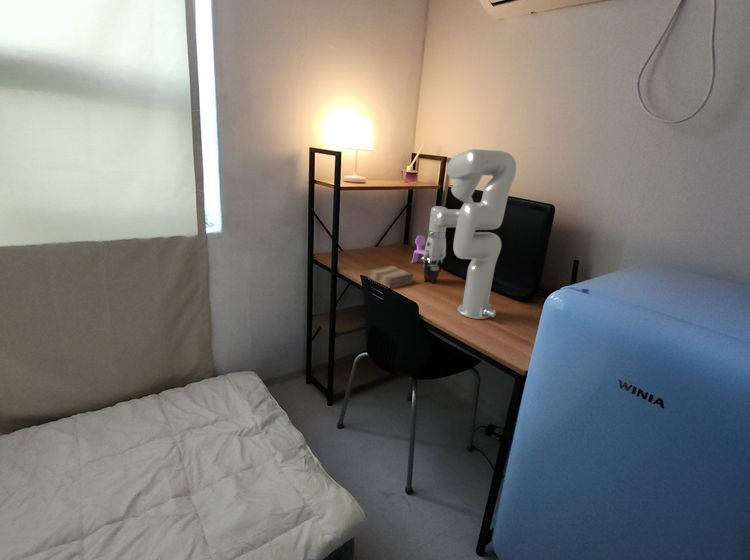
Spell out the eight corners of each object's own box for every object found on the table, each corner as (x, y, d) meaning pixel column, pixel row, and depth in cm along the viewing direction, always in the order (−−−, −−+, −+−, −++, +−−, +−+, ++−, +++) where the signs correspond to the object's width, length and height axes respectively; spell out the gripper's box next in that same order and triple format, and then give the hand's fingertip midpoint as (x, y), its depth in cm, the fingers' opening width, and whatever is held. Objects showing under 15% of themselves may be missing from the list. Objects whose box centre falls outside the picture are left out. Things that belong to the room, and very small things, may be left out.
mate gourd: (420, 279, 193) (424, 248, 188) (436, 279, 195) (439, 248, 190) (426, 284, 186) (430, 253, 181) (442, 284, 188) (446, 253, 183)
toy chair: (423, 267, 211) (426, 239, 206) (409, 263, 217) (412, 235, 212) (432, 264, 217) (435, 237, 213) (418, 260, 223) (421, 233, 218)
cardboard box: (411, 284, 187) (412, 273, 185) (389, 289, 178) (390, 278, 176) (390, 275, 197) (391, 265, 195) (368, 280, 188) (369, 269, 186)
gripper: (430, 238, 175) (426, 277, 180) (455, 234, 186) (450, 271, 192) (417, 234, 180) (413, 273, 185) (442, 231, 191) (437, 267, 197)
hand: (432, 272), depth 189 cm, fingers closed on mate gourd, 7 cm apart
